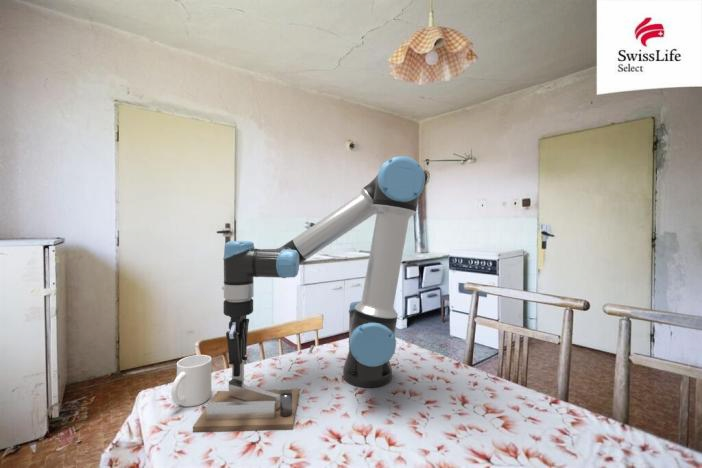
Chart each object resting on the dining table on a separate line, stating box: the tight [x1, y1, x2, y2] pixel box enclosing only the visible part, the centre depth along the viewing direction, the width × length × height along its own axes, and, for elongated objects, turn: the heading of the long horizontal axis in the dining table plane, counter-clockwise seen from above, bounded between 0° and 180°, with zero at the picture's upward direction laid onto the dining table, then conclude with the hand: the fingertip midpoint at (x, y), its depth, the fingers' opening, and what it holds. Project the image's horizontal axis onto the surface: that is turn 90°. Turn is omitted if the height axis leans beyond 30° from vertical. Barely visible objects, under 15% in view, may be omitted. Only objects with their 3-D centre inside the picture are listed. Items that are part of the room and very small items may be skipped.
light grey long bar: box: [228, 378, 280, 410], centre depth 84 cm, size 16×2×4 cm, turn 65°
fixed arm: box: [205, 391, 292, 420], centre depth 78 cm, size 19×3×5 cm, turn 94°
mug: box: [171, 354, 213, 408], centre depth 85 cm, size 12×8×10 cm
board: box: [192, 389, 300, 433], centre depth 82 cm, size 22×16×1 cm
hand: (237, 386), depth 88 cm, fingers closed
